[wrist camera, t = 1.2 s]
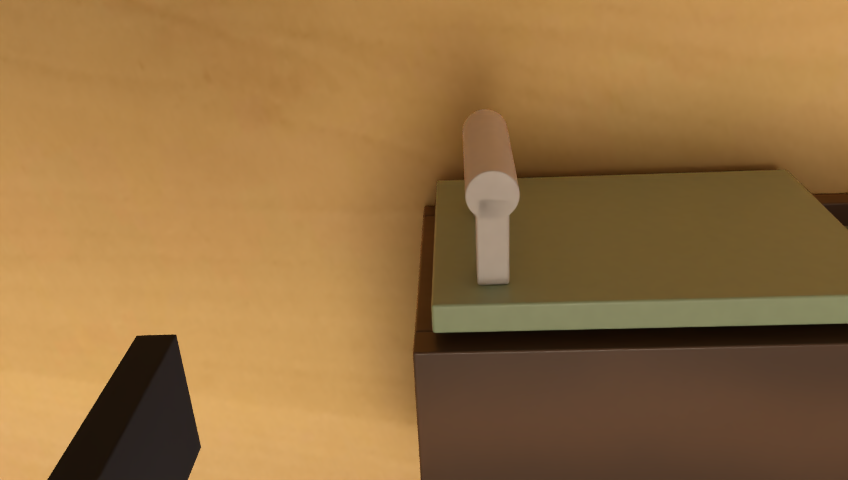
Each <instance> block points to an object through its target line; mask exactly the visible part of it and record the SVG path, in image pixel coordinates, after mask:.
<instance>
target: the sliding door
mask: <svg viewBox="0 0 848 480" xmlns="http://www.w3.org/2000/svg"><path fill="white" fill-rule="evenodd" d="M463 154H464V180H440V181H437V187H436V210H435V233H434V256H433V279H432V301H431V312H432V330H433V332H434V333H453V332H497V331H541V330H585V329H628V328H672V327H716V326H760V325H804V324H848V230H847V229H846V228H845V227H844V226H843V225H842V224H841V223H840V222H839V221H838V220H837V219H836V218H835V217H834V216H833V215H832V214H831V213H830V212H829V211H828V210H827V209H826V208H825V207H824V206H823V205H822V204H821V203H820V202H819V201H818V200H817V199H816V198H815V197H814V196H813V195H812V194H811V193H810V192H809V191H808V190H807V189H806V188H805V187H804V186H803V185H802V184H801V183H800V182H799V181H798V180H797V179H796V178H795V177H794V176H793V175H792V174H791V173H790V172H788V171H787V170H755V171H723V172H692V173H661V174H629V175H598V176H566V177H535V178H517V175H516V170H515V165H514V160H513V154H512V149H511V144H510V139H509V134H508V129H507V124H506V122H505V120H504V118H503V117H502V116H501V115H500V114H499V113H497V112H495V111H493V110H488V109H483V110H478V111H476V112H474V113H472V114H471V115H470V116H469V117H468V118H467V119H466V121H465V123H464V125H463Z"/></svg>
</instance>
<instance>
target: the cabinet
mask: <svg viewBox="0 0 848 480" xmlns="http://www.w3.org/2000/svg"><path fill="white" fill-rule="evenodd" d="M813 196H814V197H815V198H816V199H817V200H818V201H819V202H820V203H821V204H822V205H823V206H824V207H825V208H826V209H827V210H828V211H829V212H830V213H831V214H832V215H833V216H834V217H835V218H836V219H837V220H838V221H839V222H840V223H841V224H842V225H843V226H844V227H845V228H846V229H847V230H848V194H820V195H813ZM435 210H436V206H426V207H424V215H423V229H422V243H421V256H420V269H419V283H418V296H417V309H416V322H415V335H414V348H413V361H414V377H415V393H416V409H417V425H418V441H419V457H420V473H421V480H848V324H804V325H760V326H716V327H672V328H628V329H585V330H541V331H497V332H453V333H434V332H433V330H432V312H431V301H432V279H433V256H434V233H435Z"/></svg>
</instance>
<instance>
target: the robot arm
mask: <svg viewBox="0 0 848 480" xmlns="http://www.w3.org/2000/svg"><path fill="white" fill-rule="evenodd" d="M200 448H201V445H200V441H199V436H198V432H197V427H196V423H195V418H194V414H193V409H192V404H191V400H190V395H189V391H188V386H187V382H186V377H185V373H184V368H183V364H182V359H181V355H180V350H179V345H178V341H177V336H176V335H144V336H136V338H135V340H134V341H133V343H132V344H131V346H130V348H129V349H128V351H127V352H126V354H125V356H124V357H123V359H122V360H121V362H120V364H119V365H118V367H117V369H116V370H115V372H114V373H113V375H112V377H111V378H110V380H109V381H108V383H107V385H106V386H105V388H104V389H103V391H102V393H101V394H100V396H99V397H98V399H97V401H96V402H95V404H94V406H93V407H92V409H91V410H90V412H89V414H88V415H87V417H86V418H85V420H84V422H83V423H82V425H81V426H80V428H79V430H78V431H77V433H76V435H75V436H74V438H73V439H72V441H71V443H70V444H69V446H68V447H67V449H66V451H65V452H64V454H63V455H62V457H61V459H60V460H59V462H58V464H57V465H56V467H55V468H54V470H53V472H52V473H51V475H50V476H49V478H48V480H188V478H189V475H190V473H191V470H192V468H193V465H194V463H195V460H196V458H197V455H198V453H199V450H200Z"/></svg>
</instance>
